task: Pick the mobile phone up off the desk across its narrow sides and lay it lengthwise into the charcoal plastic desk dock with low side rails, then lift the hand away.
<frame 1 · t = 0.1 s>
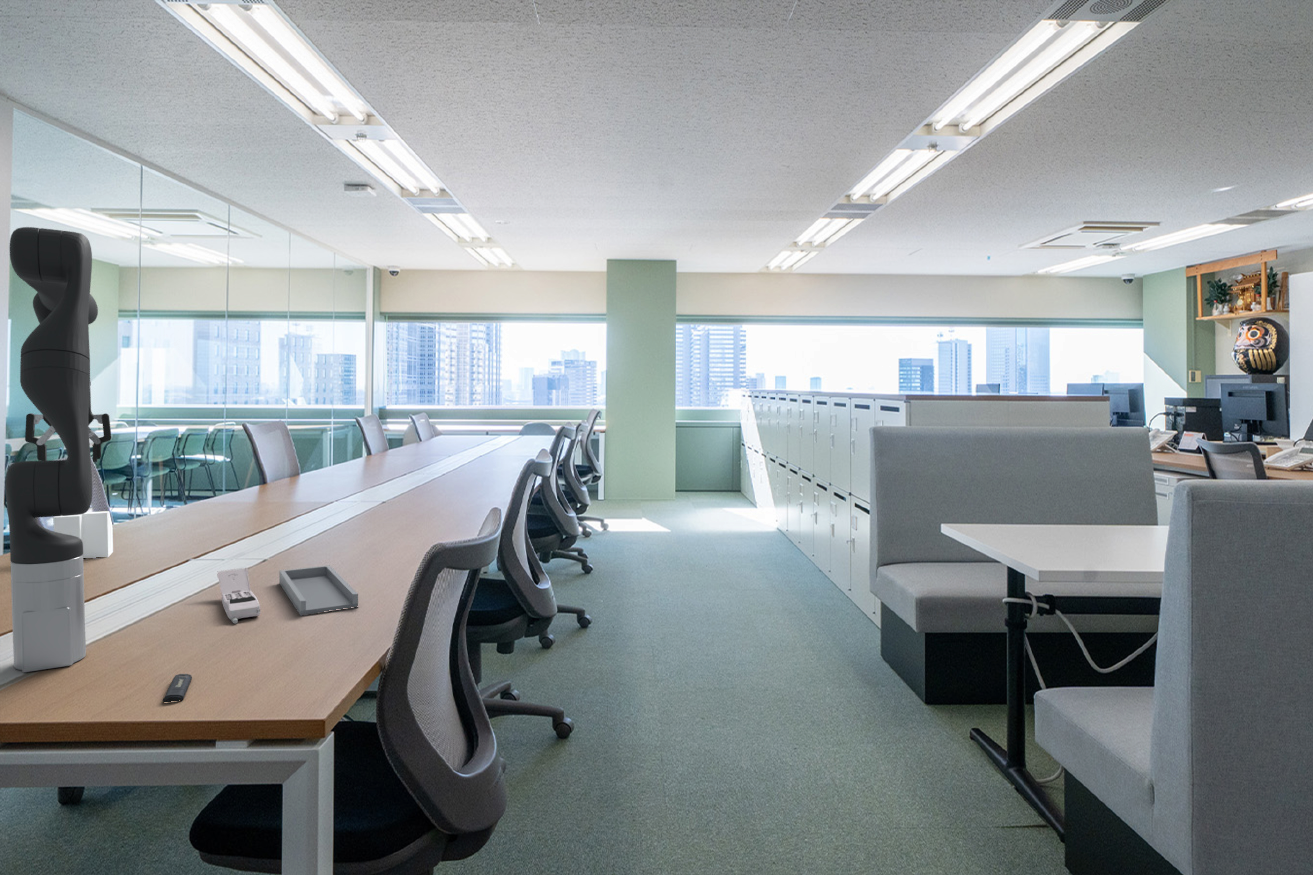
hand: (70, 462, 157), 29 cm above the table, tool pointing down, fingers open, 8 cm apart
dark grey rounded bar: (178, 694, 111), on the table
mobile phone: (239, 609, 154), on the table
phone dock: (316, 594, 164), on the table
corner bracket: (85, 558, 196), on the table
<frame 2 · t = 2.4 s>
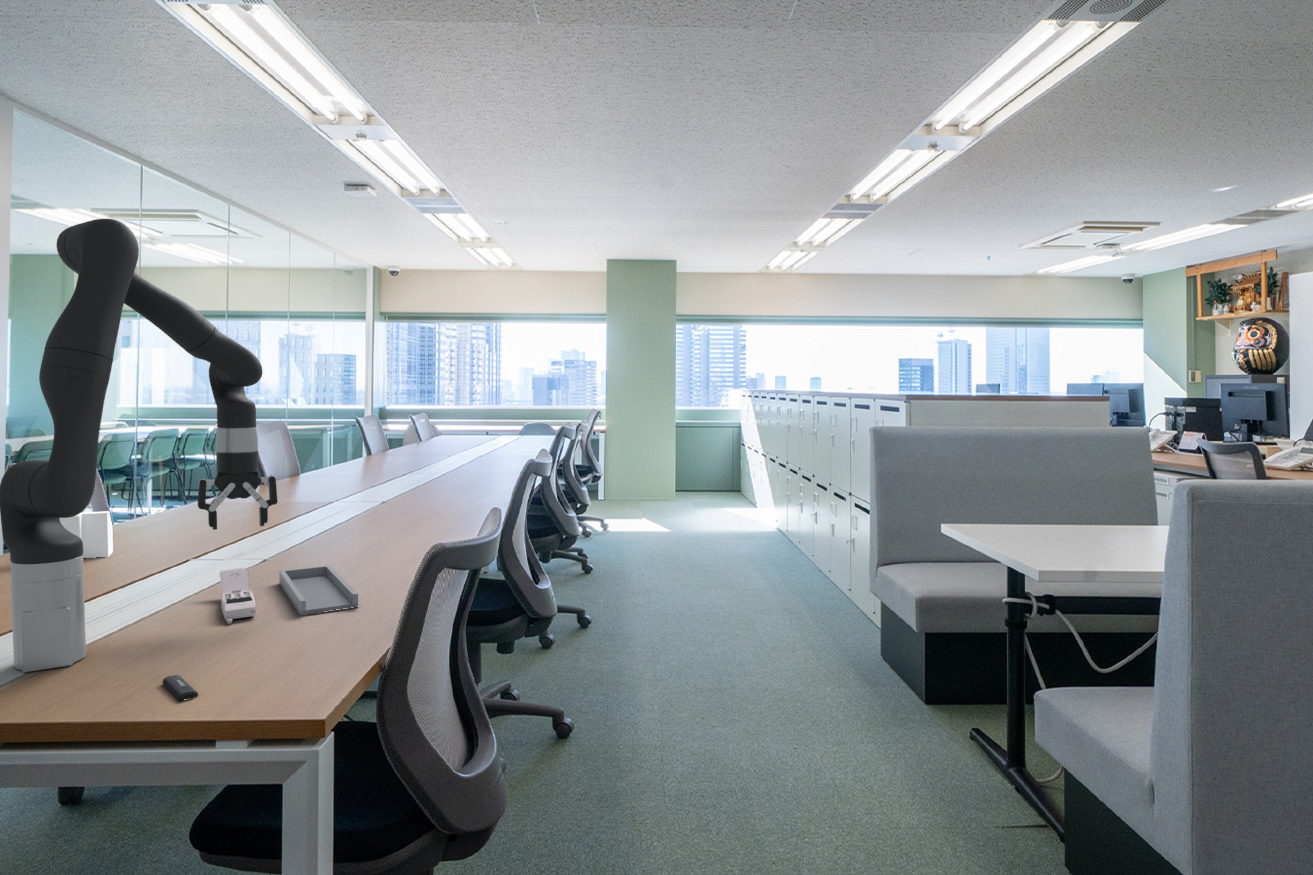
hand: (238, 527, 153), 17 cm above the table, tool pointing down, fingers open, 8 cm apart
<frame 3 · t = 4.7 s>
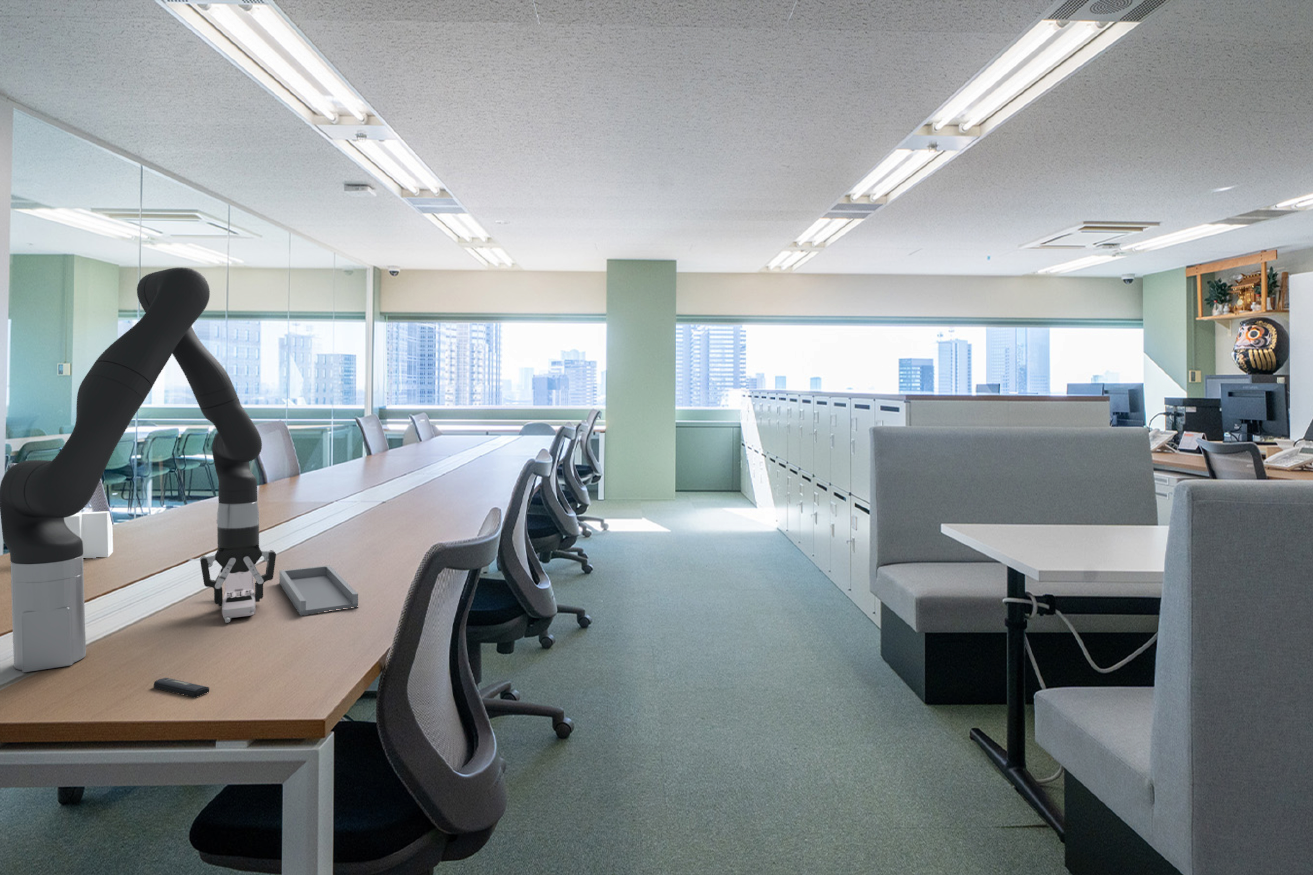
hand: (239, 602, 154), 1 cm above the table, tool pointing down, fingers closed on mobile phone, 6 cm apart
mobile phone: (239, 608, 154), on the table, touching gripper
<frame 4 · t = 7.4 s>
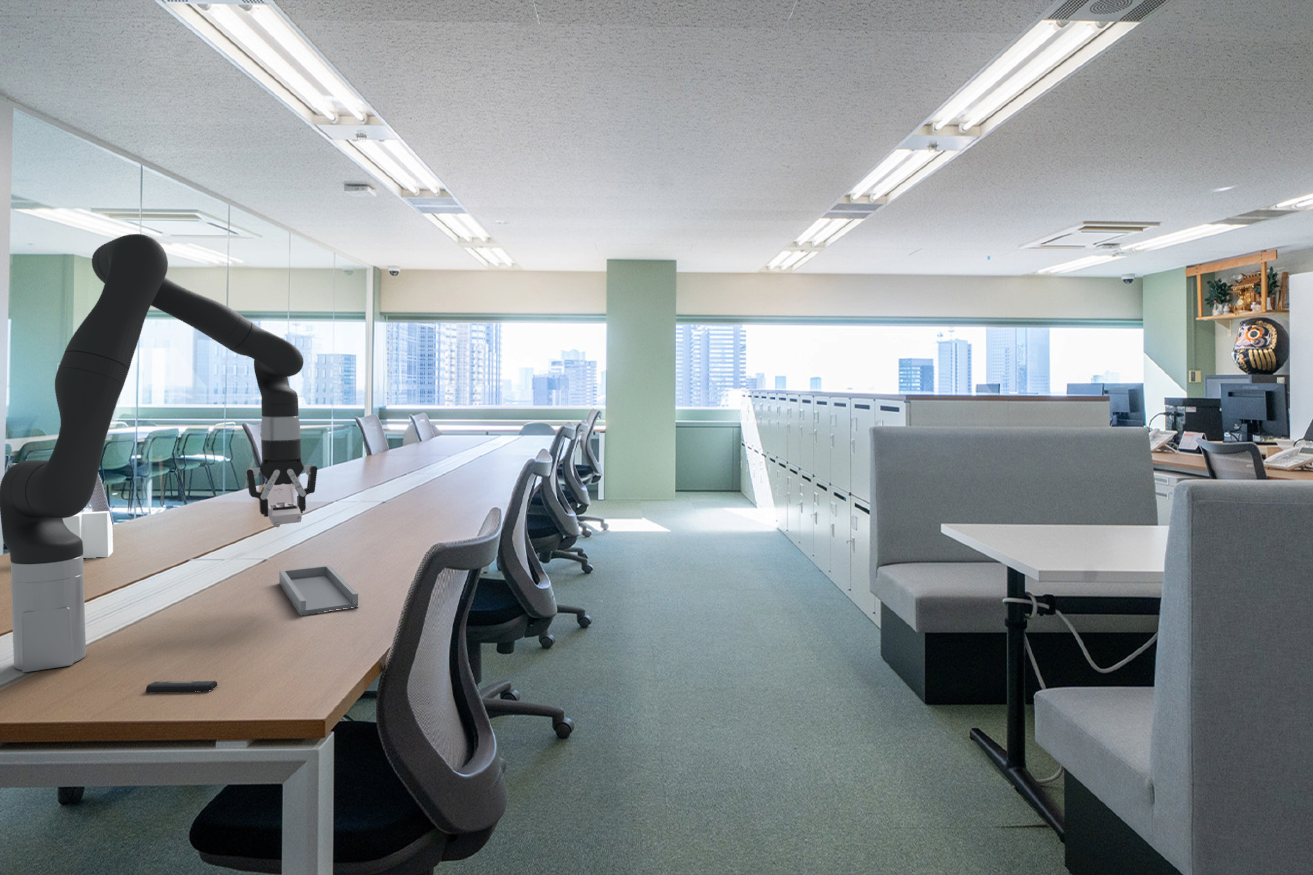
hand: (283, 514, 159), 19 cm above the table, tool pointing down, fingers closed on mobile phone, 6 cm apart
mobile phone: (283, 519, 160), point 17 cm above the table, touching gripper
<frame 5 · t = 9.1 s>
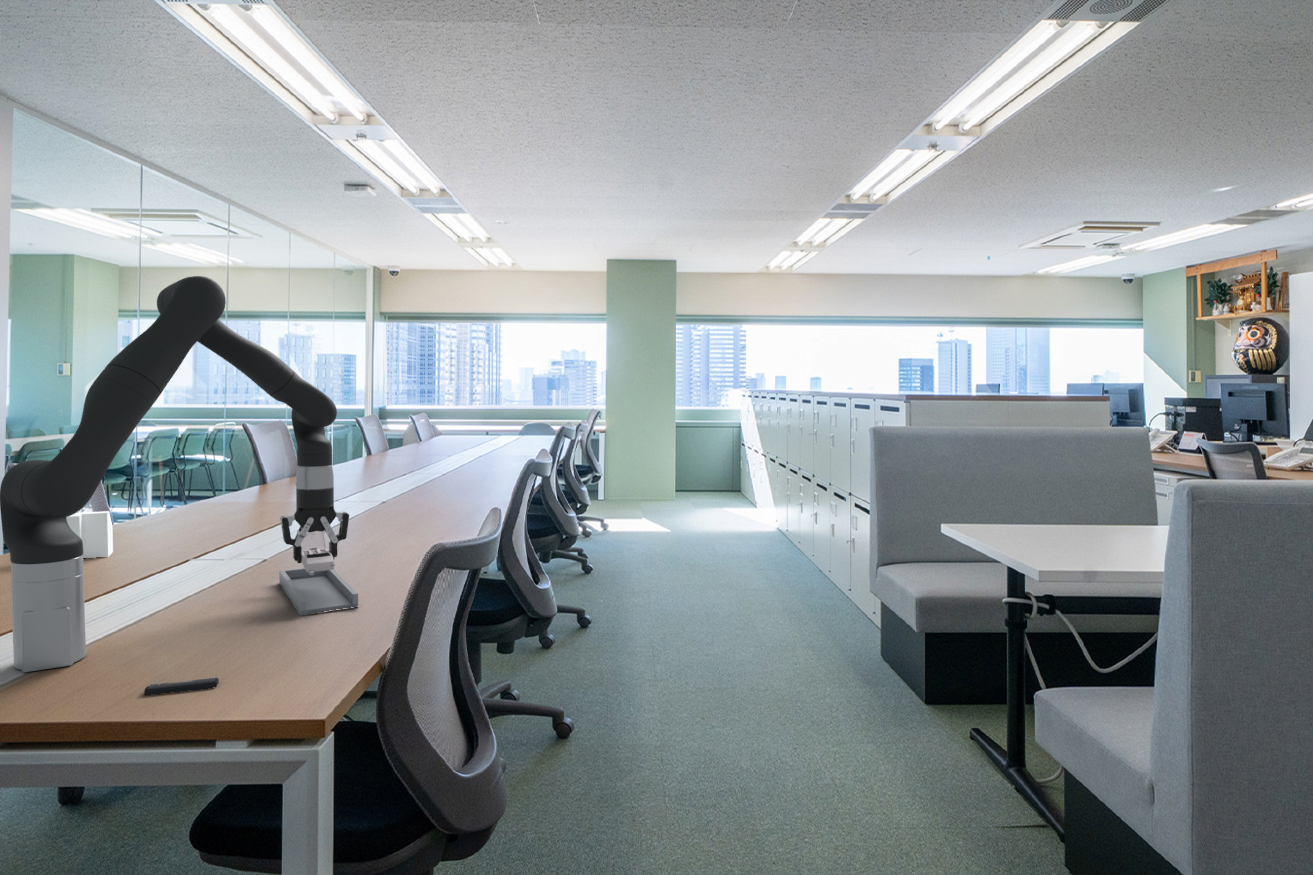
hand: (315, 560, 164), 8 cm above the table, tool pointing down, fingers closed on mobile phone, 6 cm apart
mobile phone: (315, 565, 164), point 7 cm above the table, touching gripper
when the fingers open (4 cm above the table, at t = 10.2 s): mobile phone drops 2 cm, resting on phone dock.
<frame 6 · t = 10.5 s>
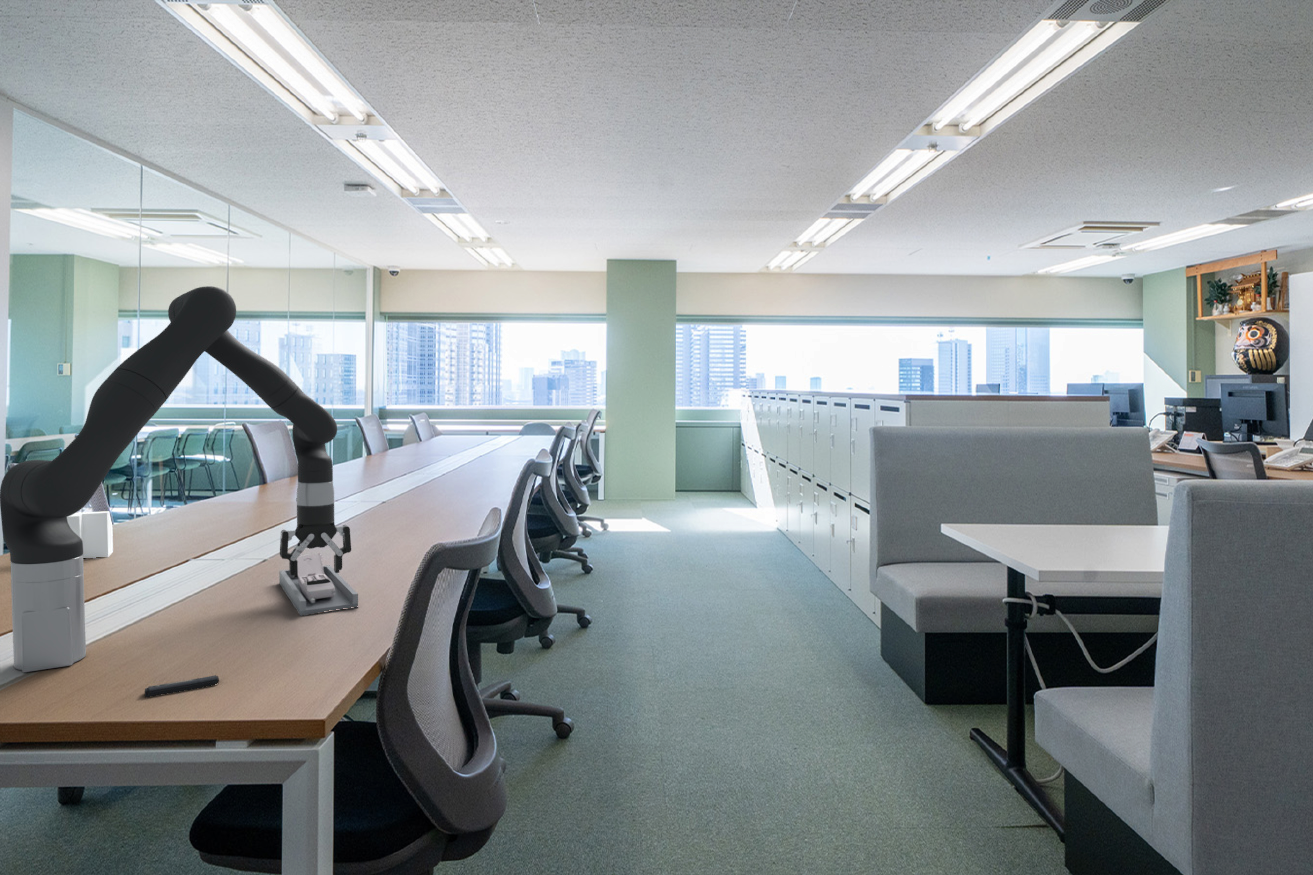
hand: (316, 574, 164), 5 cm above the table, tool pointing down, fingers open, 8 cm apart
mobile phone: (314, 591, 164), point 1 cm above the table, touching phone dock
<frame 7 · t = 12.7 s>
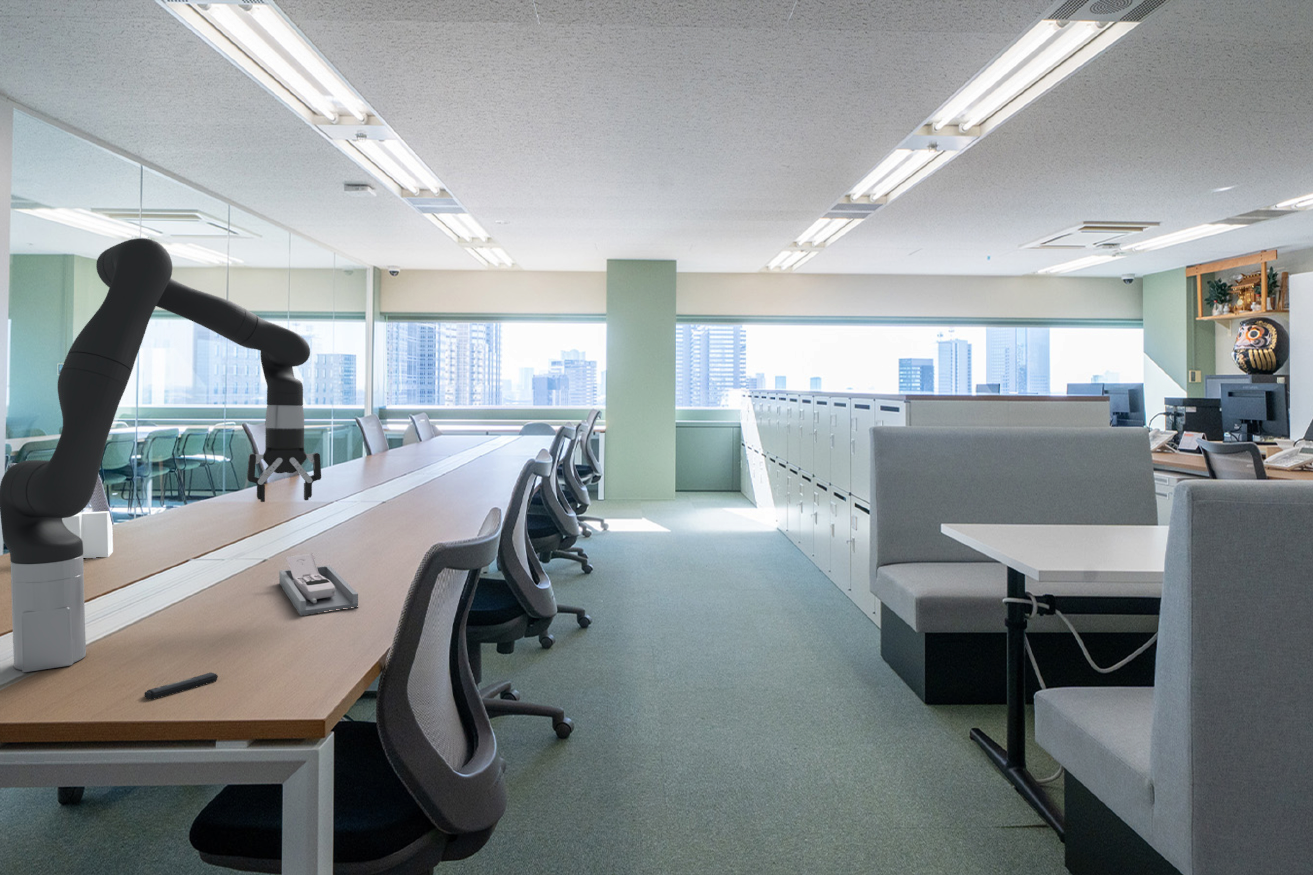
hand: (284, 500, 161), 21 cm above the table, tool pointing down, fingers open, 8 cm apart
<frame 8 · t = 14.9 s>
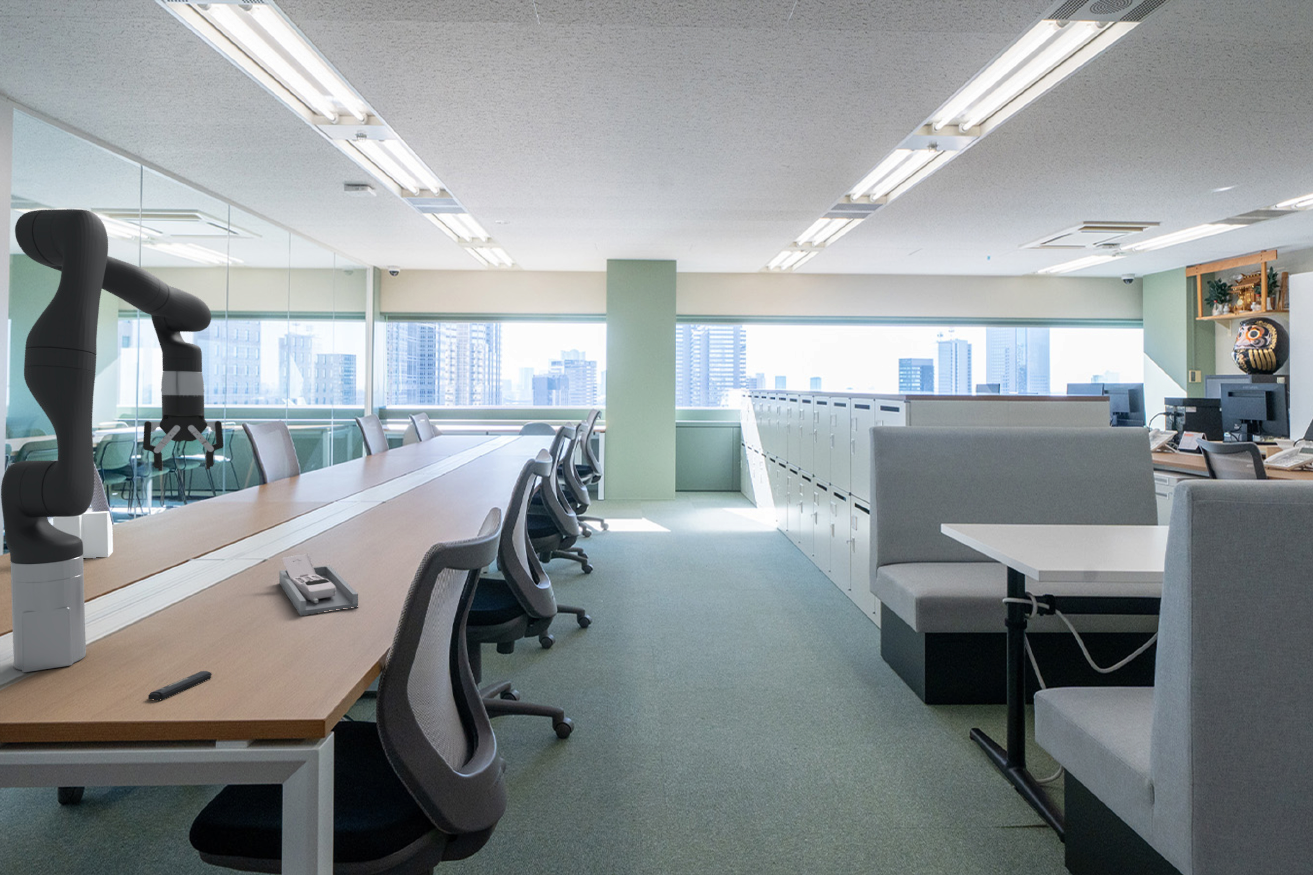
hand: (184, 469, 156), 28 cm above the table, tool pointing down, fingers open, 8 cm apart
at the end: mobile phone 1.4 cm off-centre on the phone dock, point 0.8 cm above the phone dock's base; mobile phone tilted 0°; the gripper is holding nothing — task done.
